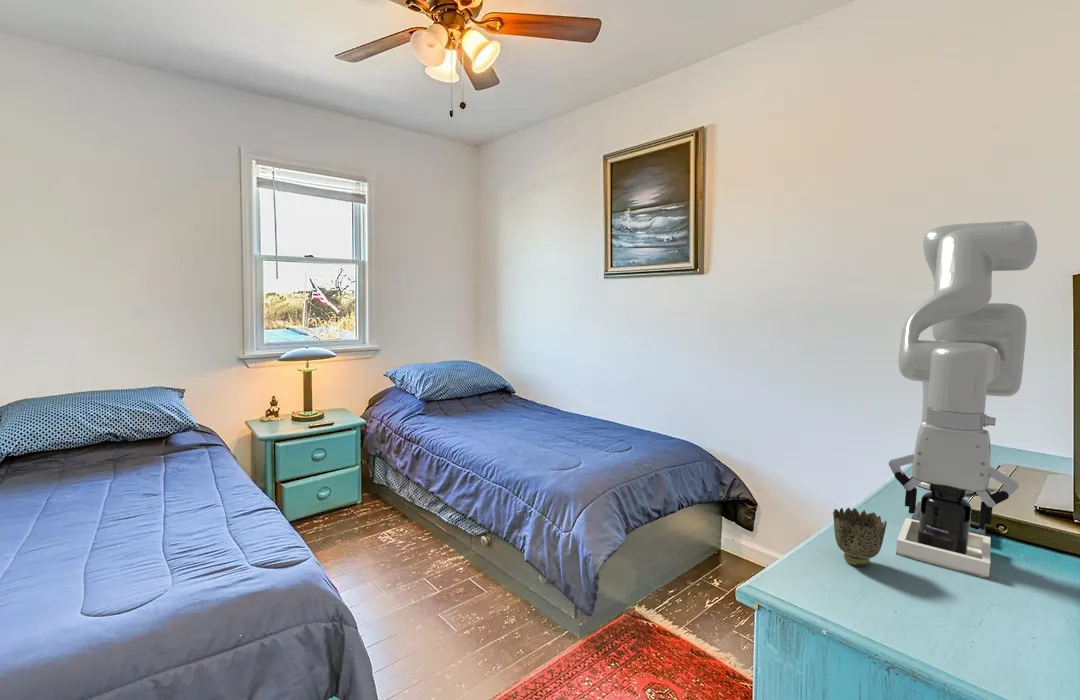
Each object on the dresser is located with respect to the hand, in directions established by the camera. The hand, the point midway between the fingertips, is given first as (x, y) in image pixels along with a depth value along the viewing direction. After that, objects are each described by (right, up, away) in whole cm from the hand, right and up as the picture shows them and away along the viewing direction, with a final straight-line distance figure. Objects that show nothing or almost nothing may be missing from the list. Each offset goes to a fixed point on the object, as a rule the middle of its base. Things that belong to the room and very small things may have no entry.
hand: (945, 518), depth 89 cm
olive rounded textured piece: (-17, -6, -3) cm, 19 cm away
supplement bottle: (0, -6, +1) cm, 6 cm away
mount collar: (+9, -5, +11) cm, 15 cm away
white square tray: (0, -6, +1) cm, 6 cm away
